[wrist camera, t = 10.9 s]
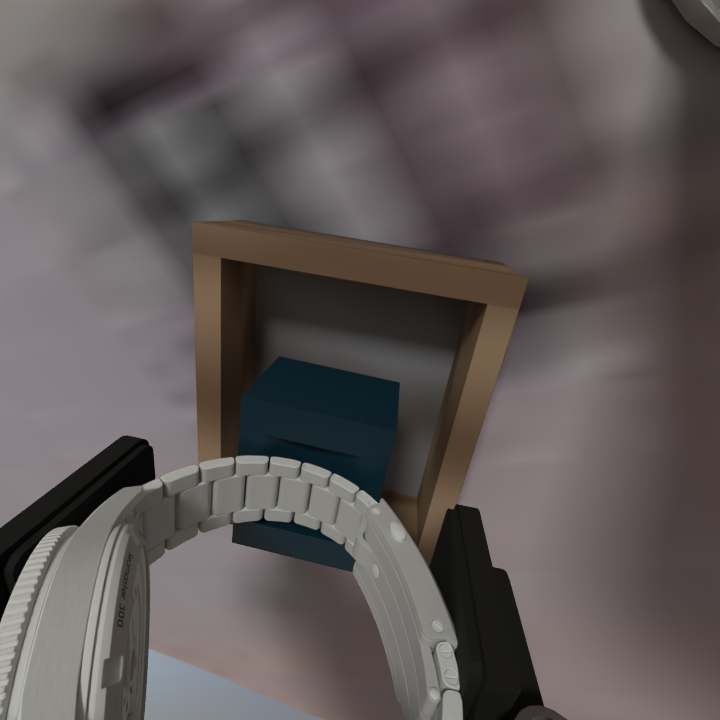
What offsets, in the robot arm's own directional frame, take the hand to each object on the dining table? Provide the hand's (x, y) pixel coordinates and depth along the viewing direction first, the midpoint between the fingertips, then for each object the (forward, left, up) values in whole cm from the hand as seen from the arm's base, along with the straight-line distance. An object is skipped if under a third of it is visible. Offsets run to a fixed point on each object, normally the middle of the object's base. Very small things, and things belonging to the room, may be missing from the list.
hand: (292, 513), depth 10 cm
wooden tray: (0, 0, -9) cm, 9 cm away
